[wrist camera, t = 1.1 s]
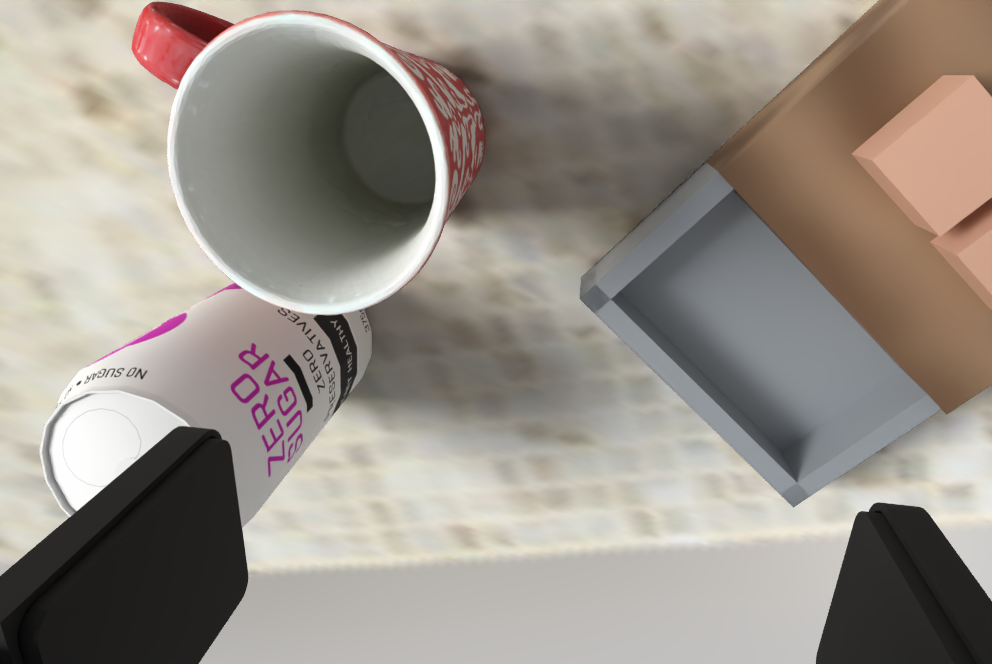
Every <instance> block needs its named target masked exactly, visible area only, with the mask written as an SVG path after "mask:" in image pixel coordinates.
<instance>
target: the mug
mask: <svg viewBox="0 0 992 664" xmlns="http://www.w3.org/2000/svg"><path fill="white" fill-rule="evenodd" d="M132 51H133V53H134V55H135V57H136V59H137V60H138V61H139V62H140V64H141V65H142V66H143V67H144V68H145V69H147V70H148V71H149V72H150V73H151V74H153V75H154V76H156V77H157V78H158V79H160V80H161V81H163V82H166V83H167V84H169V85H170V86H172V87H173V88H175V89H178V90H177V93H176V96H175V99H174V102H173V105H172V109H171V114H170V119H169V125H168V135H167V157H168V169H169V175H170V182H171V185H172V188H173V192H174V196H175V199H176V202H177V204H178V207H179V209H180V212H181V214H182V217H183V219H184V221H185V223H186V225H187V227H188V229H189V230H190V232H191V234H192V236H193V237H194V239H195V240H196V242H197V243H198V245H199V246H200V247H201V249H202V250H203V251H204V253H205V254H206V255H207V256H208V257H209V259H210V260H211V261H212V262H213V263H214V264H215V265H216V266H217V267H218V268H219V269H220V270H221V271H222V272H223V273H224V274H225V275H226V276H227V277H228V278H229V279H230V280H232V281H233V282H234V283H236V284H237V285H238V286H240V287H241V288H243V289H244V290H246V291H248V292H249V293H251V294H252V295H254V296H256V297H258V298H260V299H262V300H264V301H266V302H268V303H271V304H273V305H276V306H278V307H281V308H284V309H287V310H291V311H295V312H300V313H305V314H312V315H339V314H345V313H351V312H355V311H359V310H362V309H365V308H368V307H370V306H373V305H375V304H378V303H380V302H382V301H384V300H385V299H387V298H389V297H390V296H392V295H394V294H395V293H396V292H398V291H399V290H401V289H402V288H403V287H404V286H405V285H406V284H407V283H409V282H410V281H411V280H412V279H413V278H414V277H415V276H416V275H417V274H418V273H419V272H420V270H421V269H422V268H423V266H424V265H425V264H426V262H427V261H428V259H429V258H430V256H431V254H432V253H433V251H434V249H435V247H436V245H437V243H438V241H439V239H440V236H441V233H442V231H443V228H444V225H445V223H446V221H447V220H448V218H449V217H450V216H451V213H452V212H453V210H454V209H455V207H456V206H457V204H458V203H459V202H460V200H461V198H462V197H463V195H464V194H465V192H466V191H467V189H468V188H469V186H470V185H471V183H472V182H473V180H474V178H475V177H476V175H477V173H478V171H479V168H480V166H481V163H482V159H483V155H484V149H485V129H484V123H483V118H482V115H481V112H480V109H479V107H478V104H477V102H476V100H475V99H474V97H473V95H472V93H471V92H470V91H469V89H468V88H467V86H466V85H465V84H464V83H463V82H462V81H461V80H460V79H459V78H458V77H457V76H456V75H455V74H453V73H452V72H451V71H449V70H448V69H446V68H445V67H443V66H441V65H439V64H438V63H436V62H433V61H431V60H428V59H425V58H422V57H418V56H416V55H414V54H411V53H407V52H405V51H402V50H399V49H396V48H394V47H391V46H389V45H386V44H384V43H382V42H380V41H379V40H377V39H376V38H374V37H373V36H372V35H370V34H369V33H368V32H366V31H364V30H362V29H360V28H358V27H356V26H354V25H353V24H351V23H349V22H346V21H343V20H340V19H337V18H334V17H331V16H328V15H325V14H320V13H314V12H307V11H276V12H268V13H265V14H261V15H257V16H254V17H251V18H247V19H245V20H243V21H241V22H239V23H237V24H232V23H230V22H228V21H225V20H223V19H220V18H217V17H215V16H212V15H209V14H207V13H204V12H201V11H198V10H195V9H192V8H189V7H186V6H183V5H178V4H173V3H168V2H152V3H150V4H148V5H147V6H146V7H145V8H144V9H143V11H142V12H141V14H140V16H139V19H138V22H137V25H136V29H135V32H134V36H133V42H132Z"/></svg>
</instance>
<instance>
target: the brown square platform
mask: <svg viewBox="0 0 992 664" xmlns="http://www.w3.org/2000/svg"><path fill="white" fill-rule="evenodd" d="M943 75H974V76H975V78H976V79H977V80H978V81H979V82H980V84H981V85H982V86H983V87H984V88H985V90H986V91H987V92H988V93H989V94H990V95H991V97H992V0H879V1H878V2H877V3H876V4H875V5H874V6H872V7H871V8H870V9H869V10H868V11H867V12H866V13H865V14H864V15H863V16H862V17H861V18H860V19H859V20H857V21H856V22H855V23H854V24H853V25H852V26H851V27H850V28H849V29H848V30H847V31H846V32H845V33H843V34H842V35H841V36H840V37H839V38H838V39H837V40H836V41H835V42H834V43H833V44H832V45H831V46H830V47H828V48H827V49H826V50H825V51H824V52H823V53H822V54H821V55H820V56H819V57H818V58H817V59H816V60H814V61H813V62H812V63H811V64H810V65H809V66H808V67H807V68H806V69H805V70H804V71H803V72H802V73H801V74H799V75H798V76H797V77H796V78H795V79H794V80H793V81H792V82H791V83H790V84H789V85H788V86H787V87H785V88H784V89H783V90H782V91H781V92H780V93H779V94H778V95H777V96H776V97H775V98H774V99H773V100H772V101H770V102H769V103H768V104H767V105H766V106H765V107H764V108H763V109H762V110H761V111H760V112H759V113H758V114H756V115H755V116H754V117H753V118H752V119H751V120H750V121H749V122H748V123H747V124H746V125H745V126H744V127H743V128H741V129H740V130H739V131H738V132H737V133H736V134H735V135H734V136H733V137H732V138H731V139H730V140H729V141H727V142H726V143H725V144H724V145H723V146H722V147H721V148H720V149H719V150H718V151H717V152H716V153H715V154H714V155H712V156H711V157H710V158H709V159H708V160H707V161H706V162H707V163H708V164H709V165H710V166H712V167H713V168H714V169H715V170H716V171H718V172H719V173H720V174H721V175H722V177H723V178H724V179H725V180H726V181H727V182H728V183H729V184H730V185H731V186H732V187H733V188H734V189H733V191H734V192H735V193H736V194H737V195H738V196H739V197H740V198H741V199H742V200H743V201H744V202H745V203H746V205H747V206H748V207H749V208H750V209H751V210H752V211H753V212H754V213H755V214H756V215H757V216H758V217H759V218H760V219H761V220H762V222H763V223H764V224H765V225H766V226H767V227H768V228H769V229H770V230H771V231H772V232H773V233H774V234H775V235H776V236H777V237H778V239H779V240H780V241H781V242H782V243H783V244H784V245H785V246H786V247H787V248H788V249H789V250H790V251H791V252H792V253H793V254H794V255H795V257H796V258H797V259H798V260H799V261H800V262H801V263H802V264H803V265H804V266H805V267H806V268H807V269H808V270H809V271H810V272H811V274H812V275H813V276H814V277H815V278H816V279H817V280H818V281H819V282H820V283H821V284H822V285H823V286H824V287H825V288H826V289H827V290H828V292H829V293H830V294H831V295H832V296H833V297H834V298H835V299H836V300H837V301H838V302H839V303H840V304H841V305H842V306H843V307H844V309H845V310H846V311H847V312H848V313H849V314H850V315H851V316H852V317H853V318H854V319H855V320H856V321H857V322H858V323H859V324H860V325H861V327H862V328H863V329H864V330H865V331H866V332H867V333H868V334H869V335H870V336H871V337H872V338H873V339H874V340H875V341H876V342H877V344H878V345H879V346H880V347H881V348H882V349H883V350H884V351H885V352H886V353H887V354H888V355H889V356H890V357H891V358H892V359H893V360H894V362H895V363H896V364H897V365H898V366H899V367H900V368H901V369H902V370H903V371H904V372H905V373H906V374H907V375H908V376H909V377H910V378H911V379H912V380H913V381H914V382H915V383H917V384H918V385H919V386H920V387H921V388H922V389H923V390H924V391H925V392H926V393H927V394H928V395H929V396H930V397H931V398H932V399H933V401H934V402H935V403H936V404H937V405H938V406H939V407H940V408H941V409H942V410H943V411H944V412H945V413H946V414H948V413H950V412H951V411H953V410H954V409H956V408H957V407H959V406H960V405H962V404H963V403H965V402H966V401H968V400H969V399H971V398H972V397H974V396H975V395H977V394H978V393H980V392H981V391H983V390H984V389H986V388H987V387H989V386H991V385H992V310H991V309H990V308H989V307H988V306H987V305H986V304H985V303H984V302H983V301H982V299H981V298H980V297H979V296H978V295H977V294H976V293H975V292H974V290H973V289H972V288H971V287H970V286H969V285H968V284H967V283H966V282H965V280H964V279H963V278H962V277H961V276H960V275H959V274H958V273H957V271H956V270H955V269H954V268H953V267H952V266H951V265H950V264H949V263H948V261H947V260H946V259H945V258H944V257H943V256H942V255H941V254H940V252H939V251H938V250H937V249H936V248H935V247H934V246H933V245H932V244H931V242H930V241H932V240H933V239H934V238H936V237H937V235H935V234H933V233H931V232H929V231H927V230H925V229H923V228H921V227H918V226H916V225H914V223H913V222H912V221H911V220H910V219H909V218H908V217H907V216H906V215H905V213H904V212H903V211H902V210H901V209H900V208H899V207H898V206H897V204H896V203H895V202H894V201H893V200H892V199H891V198H890V197H889V196H888V194H887V193H886V192H885V191H884V190H883V189H882V188H881V187H880V185H879V184H878V183H877V182H876V181H875V180H874V179H873V178H872V177H871V175H870V174H869V173H868V172H867V171H866V170H865V169H864V168H863V167H862V165H861V164H860V163H859V162H858V161H857V160H856V159H855V158H854V156H853V155H852V153H853V152H854V151H855V150H856V149H857V148H859V147H860V146H861V145H862V144H863V143H865V142H866V141H867V140H868V139H869V138H870V137H872V136H873V135H874V134H875V133H876V132H877V131H879V130H880V129H881V128H882V127H883V126H884V125H886V124H887V123H888V122H889V121H890V120H891V119H893V118H894V117H895V116H896V115H897V114H898V113H900V112H901V111H902V110H903V109H904V108H905V107H907V106H908V105H909V104H910V103H911V102H913V101H914V100H915V99H916V98H917V97H918V96H920V95H921V94H922V93H923V92H924V91H925V90H927V89H928V88H929V87H930V86H931V85H932V84H934V83H935V82H936V81H937V80H938V79H939V78H941V77H942V76H943Z"/></svg>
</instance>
